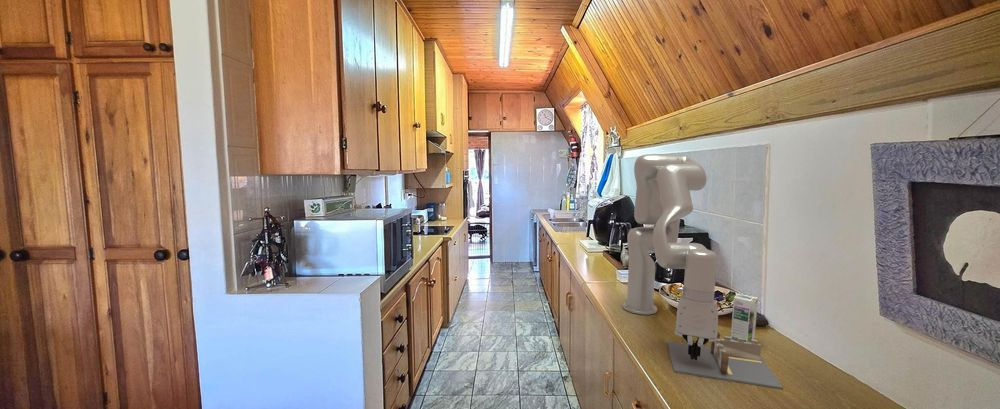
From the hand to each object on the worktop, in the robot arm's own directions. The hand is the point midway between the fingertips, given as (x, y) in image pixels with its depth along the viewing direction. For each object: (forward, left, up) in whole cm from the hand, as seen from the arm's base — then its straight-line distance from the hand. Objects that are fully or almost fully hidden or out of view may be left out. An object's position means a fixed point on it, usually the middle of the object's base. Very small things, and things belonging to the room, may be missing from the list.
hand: (693, 357), depth 109 cm
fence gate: (-1, +7, -1) cm, 7 cm away
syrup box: (-21, +17, -2) cm, 27 cm away
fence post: (-8, +12, -2) cm, 14 cm away
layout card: (-3, +7, -2) cm, 8 cm away
